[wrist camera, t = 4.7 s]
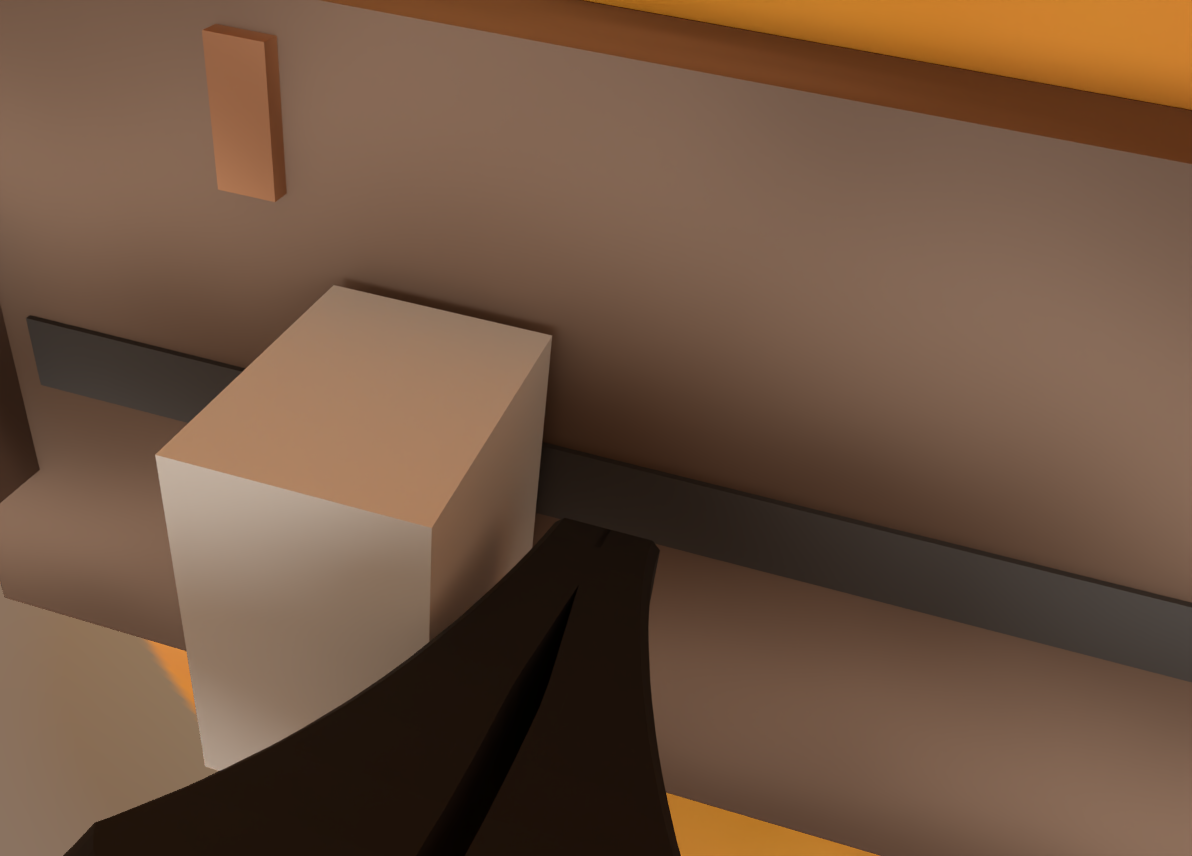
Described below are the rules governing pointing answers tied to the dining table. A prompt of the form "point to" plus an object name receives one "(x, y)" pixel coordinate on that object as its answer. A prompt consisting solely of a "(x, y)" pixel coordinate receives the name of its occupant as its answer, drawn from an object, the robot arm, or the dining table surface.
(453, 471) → the fader tab
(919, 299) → the slotted base plate
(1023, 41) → the dining table surface
